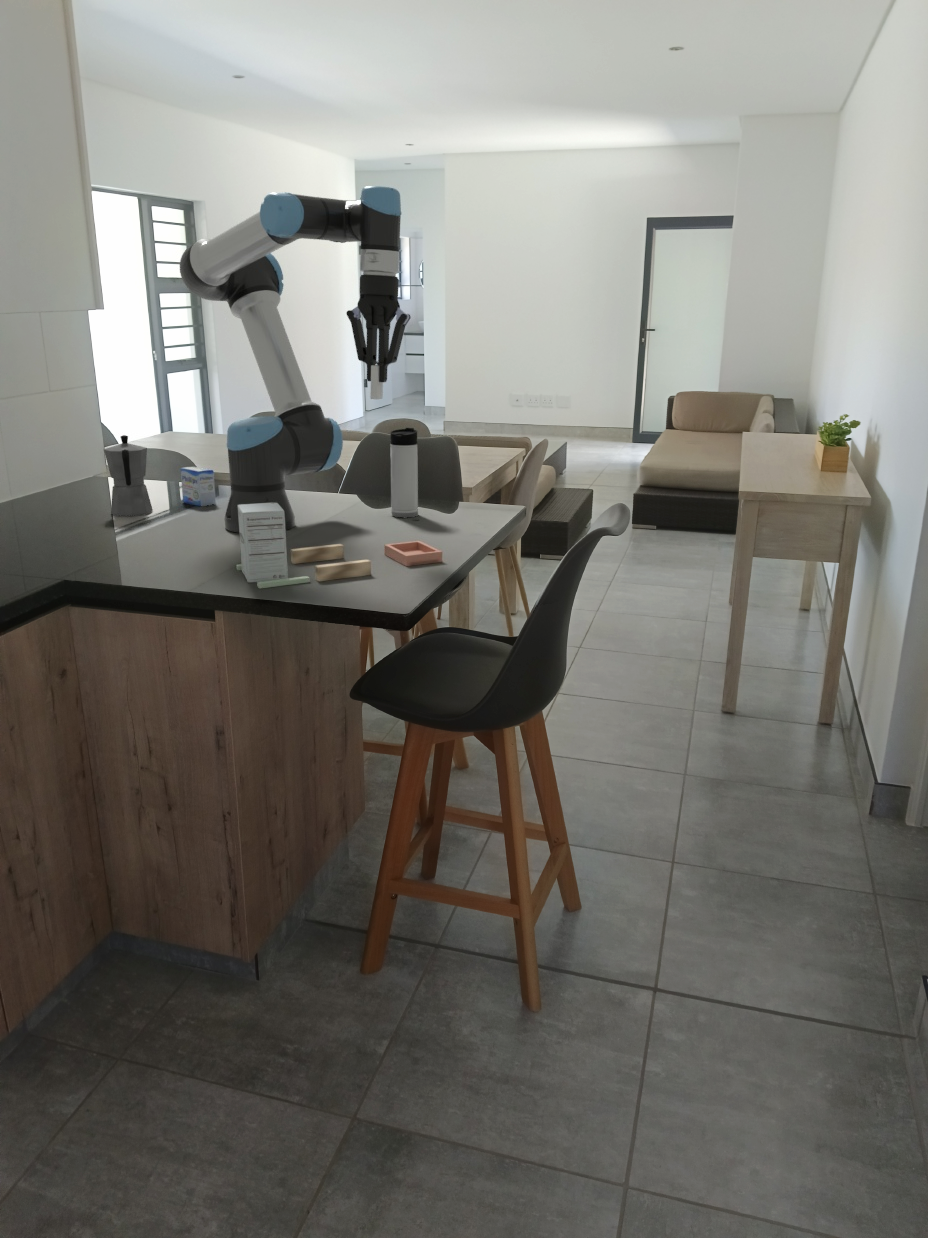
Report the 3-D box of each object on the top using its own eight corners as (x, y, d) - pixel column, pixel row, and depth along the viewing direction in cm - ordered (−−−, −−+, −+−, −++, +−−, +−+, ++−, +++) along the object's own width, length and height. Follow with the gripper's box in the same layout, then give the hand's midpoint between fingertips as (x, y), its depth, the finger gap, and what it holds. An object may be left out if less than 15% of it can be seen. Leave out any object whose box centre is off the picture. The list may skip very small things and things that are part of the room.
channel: (318, 581, 162) (318, 567, 161) (291, 562, 174) (290, 549, 174) (371, 574, 167) (370, 561, 166) (340, 556, 179) (340, 543, 178)
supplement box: (241, 572, 167) (236, 503, 163) (282, 569, 169) (278, 501, 166) (246, 583, 160) (241, 511, 157) (288, 579, 163) (285, 509, 159)
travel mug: (423, 513, 218) (422, 428, 212) (410, 519, 213) (409, 431, 206) (400, 511, 221) (399, 426, 215) (386, 516, 215) (385, 429, 209)
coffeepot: (111, 508, 221) (102, 432, 215) (152, 506, 224) (145, 431, 218) (110, 521, 207) (101, 440, 202) (154, 518, 210) (146, 439, 205)
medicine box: (182, 502, 229) (179, 467, 226) (197, 500, 232) (195, 465, 229) (201, 506, 224) (198, 471, 221) (216, 504, 227) (213, 469, 225)
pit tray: (406, 566, 172) (406, 555, 172) (384, 554, 181) (384, 544, 180) (442, 561, 176) (442, 551, 175) (419, 550, 184) (419, 540, 184)
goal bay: (259, 588, 157) (259, 583, 157) (236, 568, 169) (236, 564, 169) (309, 582, 162) (309, 577, 161) (283, 563, 174) (283, 559, 173)
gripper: (340, 271, 177) (339, 397, 185) (403, 274, 174) (399, 402, 181) (356, 273, 184) (354, 394, 192) (417, 276, 180) (413, 399, 188)
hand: (376, 398), depth 186 cm, fingers closed
